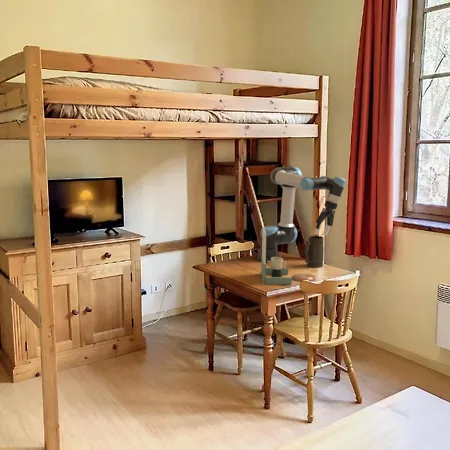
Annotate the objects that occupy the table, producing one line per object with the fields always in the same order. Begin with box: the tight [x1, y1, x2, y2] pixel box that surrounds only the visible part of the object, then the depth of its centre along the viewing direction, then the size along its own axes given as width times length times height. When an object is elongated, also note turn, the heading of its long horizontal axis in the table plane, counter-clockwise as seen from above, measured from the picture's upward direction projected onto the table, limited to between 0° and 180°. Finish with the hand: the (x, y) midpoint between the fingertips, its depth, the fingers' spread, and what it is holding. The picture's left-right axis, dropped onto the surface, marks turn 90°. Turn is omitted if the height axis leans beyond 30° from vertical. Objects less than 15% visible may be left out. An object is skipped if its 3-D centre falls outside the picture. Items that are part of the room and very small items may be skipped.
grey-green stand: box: [260, 226, 293, 286], centre depth 316 cm, size 17×24×30 cm
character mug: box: [267, 256, 287, 277], centre depth 318 cm, size 11×7×13 cm, turn 86°
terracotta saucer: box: [292, 273, 317, 282], centre depth 320 cm, size 14×14×1 cm
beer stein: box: [303, 235, 325, 269], centre depth 349 cm, size 15×11×20 cm
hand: (320, 234), depth 323 cm, fingers open, 13 cm apart
